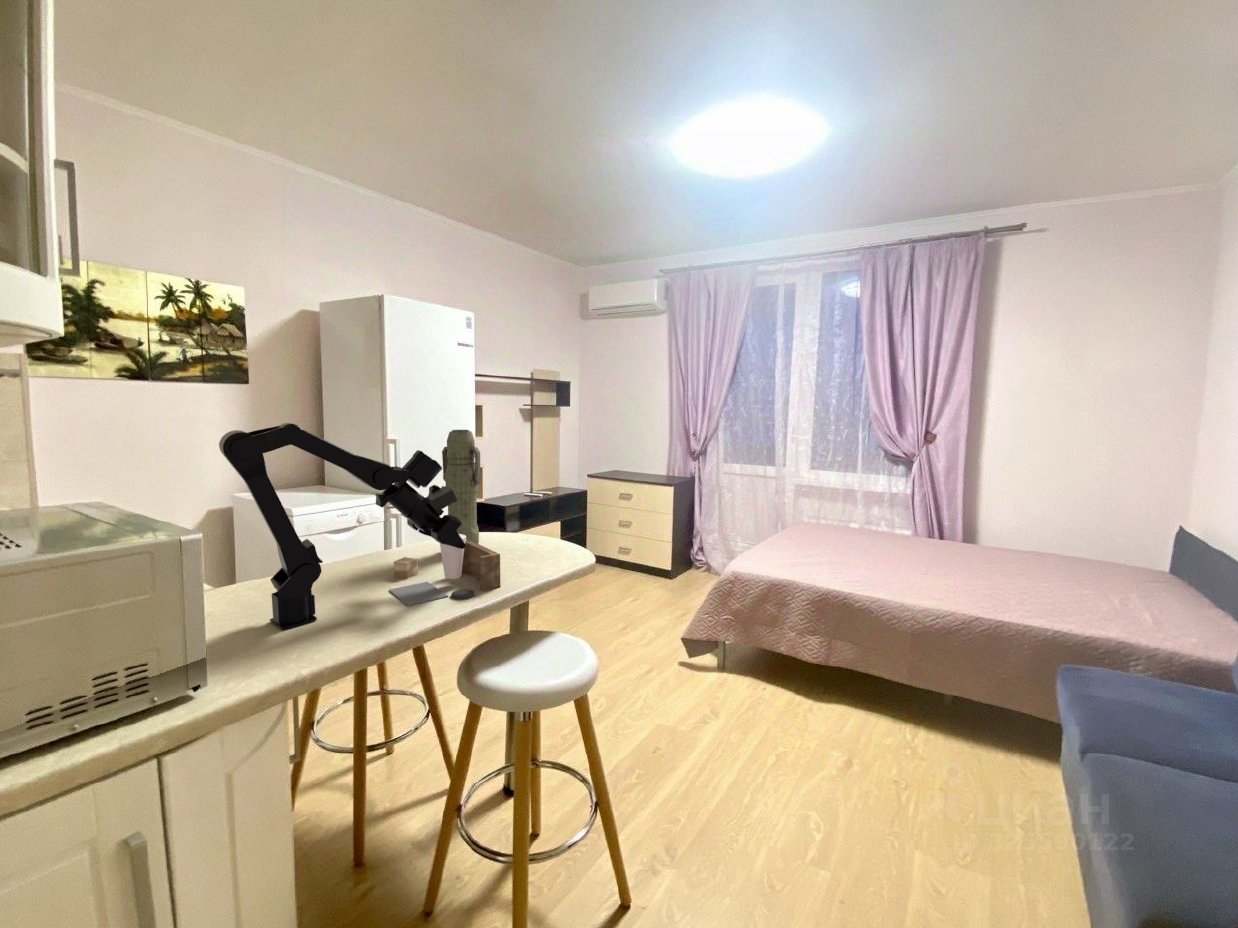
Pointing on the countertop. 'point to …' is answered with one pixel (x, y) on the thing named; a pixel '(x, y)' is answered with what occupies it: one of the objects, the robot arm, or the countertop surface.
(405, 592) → the mat
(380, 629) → the countertop surface
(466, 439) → the thermos
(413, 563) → the oak cube
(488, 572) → the cubby
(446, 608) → the countertop surface
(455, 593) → the dark grey disc
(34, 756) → the countertop surface
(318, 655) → the countertop surface
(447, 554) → the smoothie
